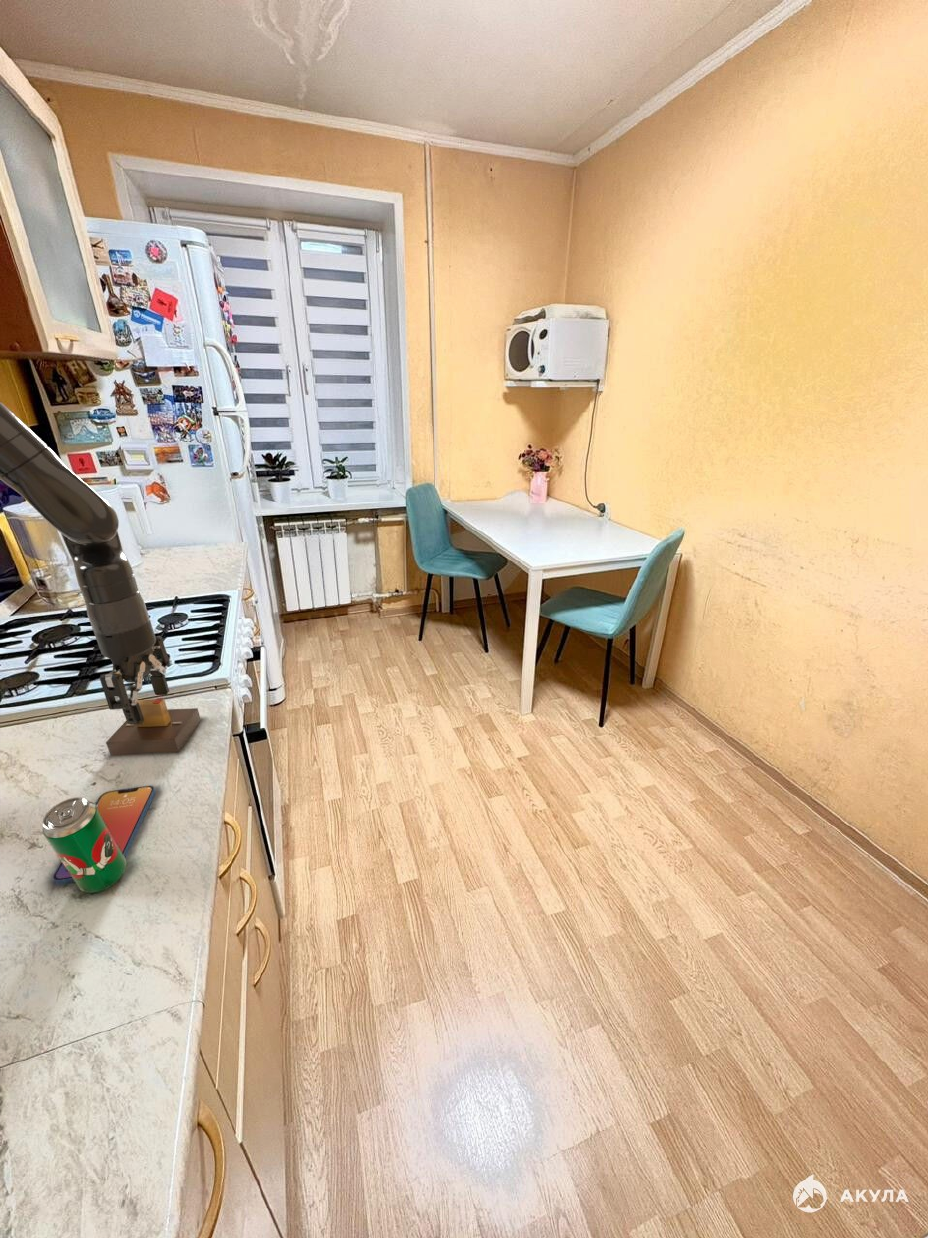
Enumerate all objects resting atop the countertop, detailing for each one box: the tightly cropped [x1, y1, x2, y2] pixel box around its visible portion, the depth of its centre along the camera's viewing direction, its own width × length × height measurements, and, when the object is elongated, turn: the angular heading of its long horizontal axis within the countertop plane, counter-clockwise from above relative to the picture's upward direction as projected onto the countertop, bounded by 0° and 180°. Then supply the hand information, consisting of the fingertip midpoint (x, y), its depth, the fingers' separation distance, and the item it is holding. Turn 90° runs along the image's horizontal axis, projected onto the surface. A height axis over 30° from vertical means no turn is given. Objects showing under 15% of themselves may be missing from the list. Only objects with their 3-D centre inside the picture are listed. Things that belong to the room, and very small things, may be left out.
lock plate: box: [105, 707, 202, 756], centre depth 86 cm, size 11×9×3 cm
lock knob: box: [136, 697, 171, 727], centre depth 85 cm, size 5×2×5 cm, turn 94°
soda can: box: [42, 796, 127, 894], centre depth 59 cm, size 5×5×12 cm
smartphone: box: [52, 785, 156, 885], centre depth 68 cm, size 7×15×1 cm, turn 12°
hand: (150, 708), depth 84 cm, fingers open, 8 cm apart
